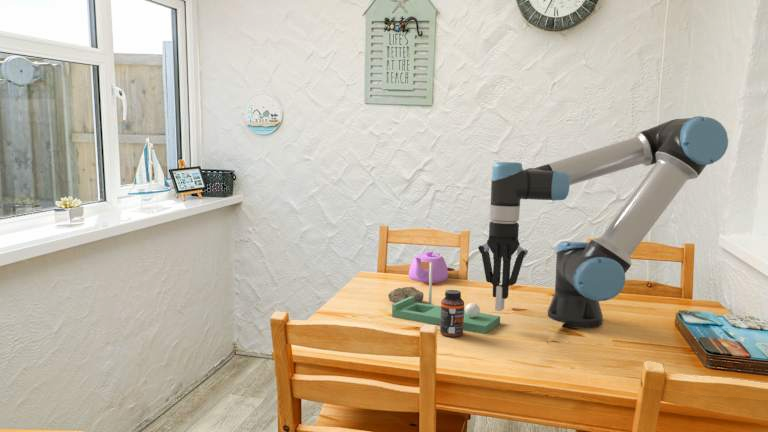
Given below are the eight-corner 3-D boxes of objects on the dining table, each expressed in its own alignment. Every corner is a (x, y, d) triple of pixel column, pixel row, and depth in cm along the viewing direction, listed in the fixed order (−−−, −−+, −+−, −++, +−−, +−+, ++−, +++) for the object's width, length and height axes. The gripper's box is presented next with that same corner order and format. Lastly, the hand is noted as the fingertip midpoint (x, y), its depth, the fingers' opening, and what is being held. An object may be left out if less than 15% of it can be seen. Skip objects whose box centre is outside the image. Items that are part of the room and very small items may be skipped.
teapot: (398, 285, 205) (398, 254, 204) (422, 274, 223) (422, 245, 221) (433, 290, 199) (434, 258, 197) (455, 279, 216) (456, 249, 215)
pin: (436, 309, 175) (437, 262, 173) (432, 312, 172) (433, 264, 171) (422, 307, 177) (423, 260, 176) (417, 309, 175) (419, 262, 173)
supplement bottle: (457, 339, 148) (458, 295, 147) (436, 335, 151) (437, 292, 150) (466, 333, 153) (468, 290, 152) (446, 329, 156) (447, 287, 155)
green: (499, 323, 162) (500, 310, 162) (485, 333, 153) (485, 320, 153) (410, 307, 177) (410, 296, 176) (392, 316, 167) (392, 304, 167)
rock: (384, 303, 180) (384, 288, 179) (408, 297, 188) (408, 283, 187) (403, 308, 175) (403, 293, 174) (426, 302, 183) (427, 288, 182)
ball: (481, 316, 161) (482, 302, 161) (476, 320, 158) (476, 305, 157) (468, 314, 163) (468, 300, 163) (462, 318, 160) (462, 303, 159)
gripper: (533, 222, 153) (528, 310, 156) (485, 218, 160) (481, 302, 163) (524, 225, 147) (519, 317, 150) (475, 220, 153) (471, 308, 156)
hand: (499, 309), depth 156 cm, fingers closed
